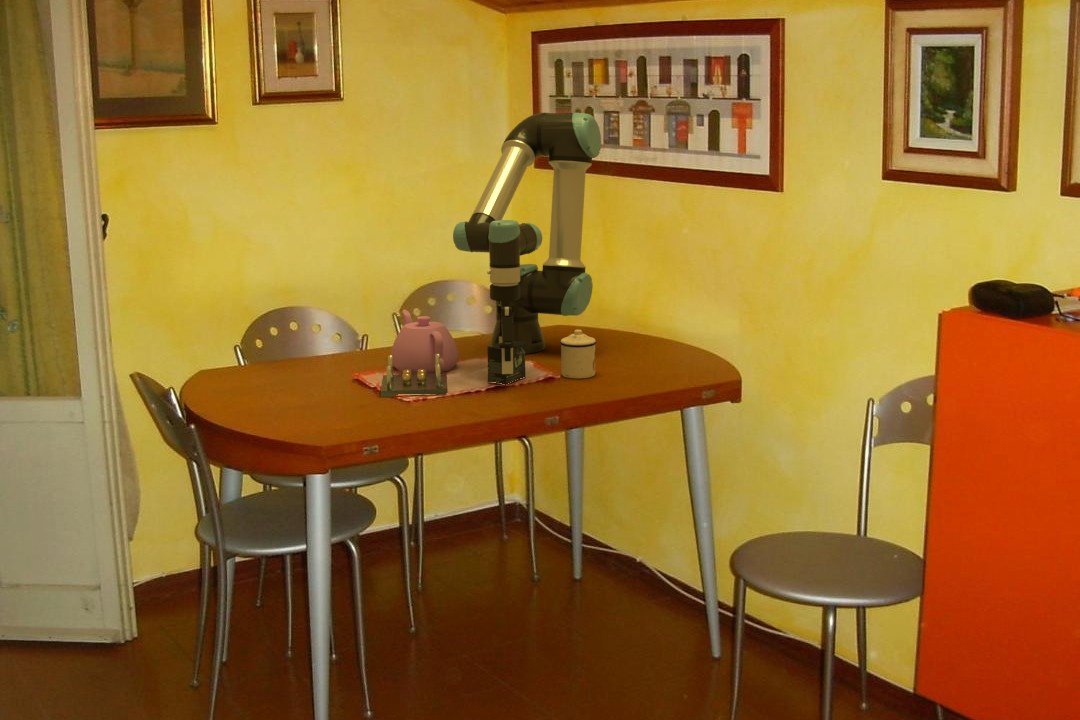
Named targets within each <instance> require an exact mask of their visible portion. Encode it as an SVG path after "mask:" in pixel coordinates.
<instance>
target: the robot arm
mask: <svg viewBox="0 0 1080 720" xmlns="http://www.w3.org/2000/svg"><path fill="white" fill-rule="evenodd" d="M601 148H602V135H601V130H600V126H599V124H598V122H597V120H596V119H595V117H594V116H593V115H591V114H590V113H583V112H582V113H581V112H538V113H534V114H532V115H529V116H528V117H526V118H524V119H523V120H522V121H520V122H519V123H518V124H517V125H516V126H515V127H514V128H513V129H512V130H511V131H510V132H509V134H508V135H506V137H505V139H504V140H503V143H502V146H501V148H500V150H501V151H500V152H501V156H500V158H499V160H498V162H497V164H496V166H495V168H494V170H493V172H492V174H491V176H490V178H489V180H488V182H487V184H486V187H485V188H484V190H483V193H481V196H480V199H479V200H478V202H477V204H476V206H475V209H473V210H474V211H473V212H472V214H471V216H470V218H469V220H468V221H461V222H458V223H456V225H455V226H454V228H453V232H452V239H453V243H454V245H455V248H456V249H457V250H459V251H463V252H467V253H468V252H469V253H489V270H487V272H486V274H488V275H489V282H490V283H491V284H490V285H489V298H490V300H491V301H493V302H495V318H496V319H495V320H496V321H495V325H494V328H493V331H492V336H491V338H490V341H489V343H490V346H493V345H496V344H499V343H502V345H499V348H502V374H513V346H514V344H513V341H518V342H525V355H526V354H527V355H528V354H533V353H539V352H541V351H544V350H545V349H546V339H545V336H544V334H543V330H542V329H541V328H542V327H541V324H540V322H539V314H541V315H542V314H543V315H544V314H545V315H553V316H554V315H555V316H563V317H568V316H572V317H574V316H579V315H582V314H583V313H584V312H585V311H586V310H587V308H588V306H589V304H590V301H591V298H592V294H593V288H594V287H593V286H594V284H593V282H592V281H593V279H592V276H591V275H590V274H589V273H587V272H586V267H587V266H586V265H585V264H584V263H583V262H582V260H581V258H582V257H581V256H582V255H581V253H582V238H583V237H582V236H583V220H584V207H585V205H584V203H585V191H586V190H585V189H586V174H587V173H586V172H587V170H588V169H589V168H590V167H592V165H593V164H592V163H593V159H596V158H597V157H598V156H600V151H601ZM540 157H548V164H549V165H550V166H551V167H552V168H553V177H552V178H553V179H552V193H551V194H552V197H551V214H550V229H549V230H550V231H549V247H548V248H549V250H548V258H547V260H545V261H544V262H543V263H542V269H541V270H539V266H538V265H537V264H534V263H526V264H521V261H520V260H521V259H520V258H521V256H524V255H529V254H532V253H533V252H535V251H537V250H538V249H539V248H540V247H541V246H542V243H543V233H542V231H541V230H540V228H539V226H538V225H536V224H534V223H530V222H527V223H526V222H522V223H519V222H518V221H517V220H514V219H513V220H512V219H503V218H504V216H505V215H506V213H507V209H508V208H509V206H510V204H511V201H512V199H513V197H514V196H515V193H516V191H517V189H518V187H519V186H520V183H521V181H522V179H523V177H524V175H525V173H526V171H527V169H528V167H531V166H532V165H533V164H534V163H535V161H536V159H537V158H540Z"/></svg>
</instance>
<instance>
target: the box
mask: <svg viewBox="0 0 1080 720" xmlns="http://www.w3.org/2000/svg"><path fill="white" fill-rule="evenodd" d="M513 344H514V346H513V374H502V348H499V345H502V343H499V344H496V345H493V346H491V345H490V346H487V351H486V352H487V383H488V382H496V383H502V384H505V385H504V386H507V385H506V384H508V383H510V382H512V381H515V380H517V379H520V378H523V377H525V378H526V354H525V342H518V341H513ZM510 384H511V383H510ZM508 385H509V384H508Z"/></svg>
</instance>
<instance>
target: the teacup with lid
mask: <svg viewBox="0 0 1080 720" xmlns="http://www.w3.org/2000/svg"><path fill="white" fill-rule="evenodd" d="M559 344H560V347H561V348H560V349H561V350H560V353H561V354H560V355H561V356H560V358H561V359H560V361H561V363H560V365H561V366H560V367H561V370H560V371H561V372H560V374H561V375H562V376H563V377H564V378H567V379H576V380H577V379H579V380H580V379H581V380H582V379H588V378H589V379H590V378H592V377H594V376H595V375H596V344H597V341H596V339H595V338H594V337H592V336H589V335H587V334H585V333H583V331H582V329H575V330H574V331H573V333H570V334H569V335H568V336H566V337H565V336H564V337H562V339H561V340H560V342H559Z"/></svg>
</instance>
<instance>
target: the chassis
mask: <svg viewBox="0 0 1080 720" xmlns="http://www.w3.org/2000/svg"><path fill="white" fill-rule="evenodd" d="M435 360H436V365H435V367H436V373H435V374H426V370H425V369H419V370H418V373H417V374H411V370H403V372H402V374H394V365H393V355H391V354H389V355H387V365H386V367H385V368H386V374H383V375H382V380H381V387H380V398H392V397H393V398H394V397H395V396H396V395H398V394H446V393H448V376H447V375H448V374H447V372H442V373H441V366H440V354H439V353H437V354H435Z"/></svg>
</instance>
